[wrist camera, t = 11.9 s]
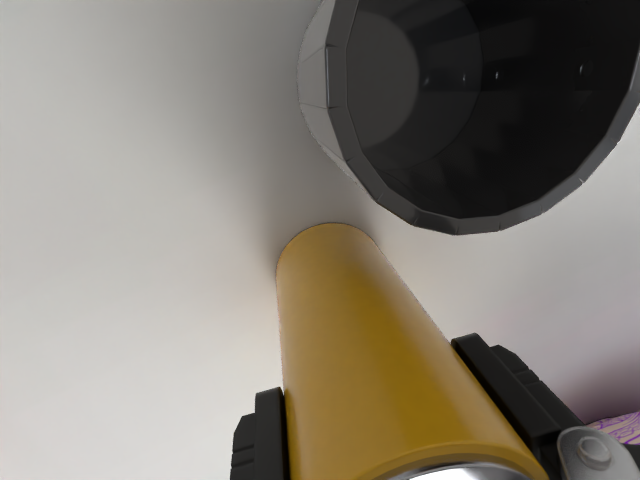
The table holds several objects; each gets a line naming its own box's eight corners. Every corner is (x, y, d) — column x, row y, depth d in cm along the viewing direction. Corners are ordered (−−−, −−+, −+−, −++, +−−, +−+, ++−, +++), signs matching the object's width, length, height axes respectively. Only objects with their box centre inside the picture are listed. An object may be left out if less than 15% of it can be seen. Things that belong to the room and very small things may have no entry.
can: (253, 263, 18) (236, 562, 6) (348, 201, 17) (511, 405, 6) (314, 336, 20) (382, 661, 8) (400, 283, 19) (594, 550, 8)
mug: (302, 184, 17) (331, 248, 10) (289, -36, 13) (317, -172, 7) (535, 166, 18) (706, 212, 11) (571, -38, 15) (840, -153, 8)
